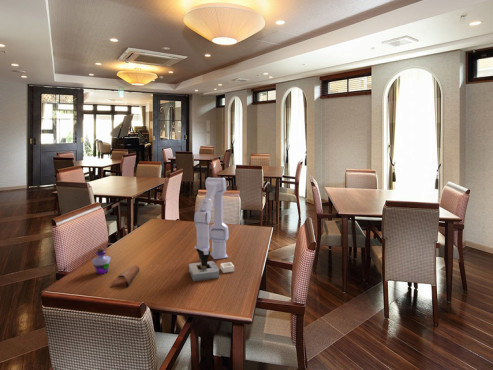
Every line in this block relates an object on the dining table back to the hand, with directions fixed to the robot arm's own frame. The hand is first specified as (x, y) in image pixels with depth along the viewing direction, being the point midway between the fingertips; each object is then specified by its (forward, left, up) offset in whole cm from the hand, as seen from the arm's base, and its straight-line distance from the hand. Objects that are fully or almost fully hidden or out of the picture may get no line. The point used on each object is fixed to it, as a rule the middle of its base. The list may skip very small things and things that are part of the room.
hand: (203, 264), depth 159 cm
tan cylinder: (0, 0, -2) cm, 2 cm away
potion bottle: (-19, -46, -5) cm, 50 cm away
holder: (-2, +12, -5) cm, 13 cm away
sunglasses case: (-7, -35, -6) cm, 36 cm away
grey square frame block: (0, 0, -5) cm, 5 cm away
